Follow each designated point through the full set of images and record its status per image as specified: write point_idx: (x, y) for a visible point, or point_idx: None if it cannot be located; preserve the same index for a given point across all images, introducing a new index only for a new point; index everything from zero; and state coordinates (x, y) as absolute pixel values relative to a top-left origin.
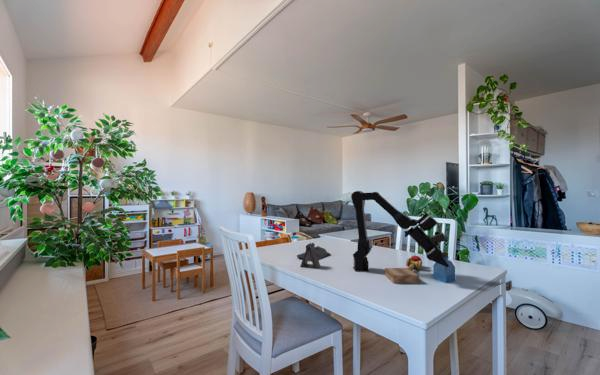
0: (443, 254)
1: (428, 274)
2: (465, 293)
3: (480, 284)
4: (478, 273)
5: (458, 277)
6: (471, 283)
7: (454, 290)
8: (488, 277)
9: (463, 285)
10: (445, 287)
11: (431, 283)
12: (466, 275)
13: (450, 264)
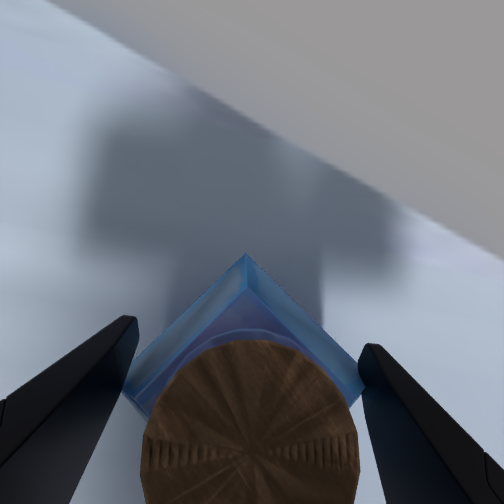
0: (344, 484)
1: (108, 483)
2: (499, 269)
3: (271, 135)
4: (8, 78)
5: (144, 234)
6: (268, 182)
7: (473, 328)
8: (98, 49)
9: (334, 243)
10: (434, 382)
11: (380, 487)
12: (76, 166)
13: (286, 307)
